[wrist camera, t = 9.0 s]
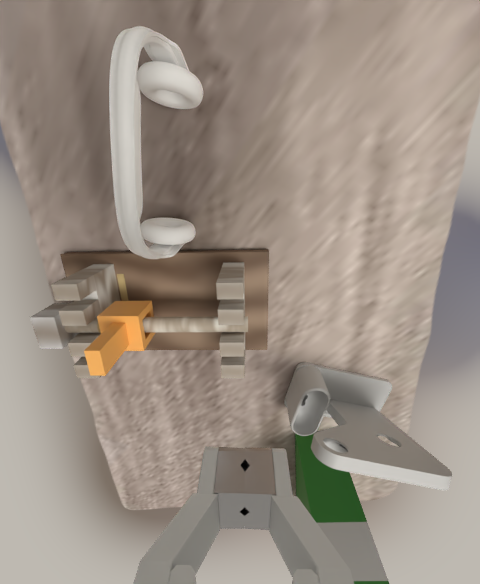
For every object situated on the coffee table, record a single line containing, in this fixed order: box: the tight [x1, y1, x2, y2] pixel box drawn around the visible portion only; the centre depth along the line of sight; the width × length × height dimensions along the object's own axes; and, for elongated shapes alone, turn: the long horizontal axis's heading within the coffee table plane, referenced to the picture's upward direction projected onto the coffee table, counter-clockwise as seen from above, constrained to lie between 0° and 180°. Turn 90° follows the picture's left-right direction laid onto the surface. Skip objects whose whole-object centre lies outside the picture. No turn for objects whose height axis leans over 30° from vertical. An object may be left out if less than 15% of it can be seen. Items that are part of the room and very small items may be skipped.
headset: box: [109, 26, 203, 259], centre depth 28 cm, size 20×7×18 cm, turn 173°
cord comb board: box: [30, 250, 269, 378], centre depth 38 cm, size 16×30×10 cm, turn 91°
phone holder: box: [284, 362, 452, 490], centre depth 40 cm, size 17×10×18 cm, turn 77°
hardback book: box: [295, 433, 389, 584], centre depth 43 cm, size 18×7×24 cm, turn 5°
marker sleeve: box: [84, 301, 156, 376], centre depth 32 cm, size 5×5×11 cm
